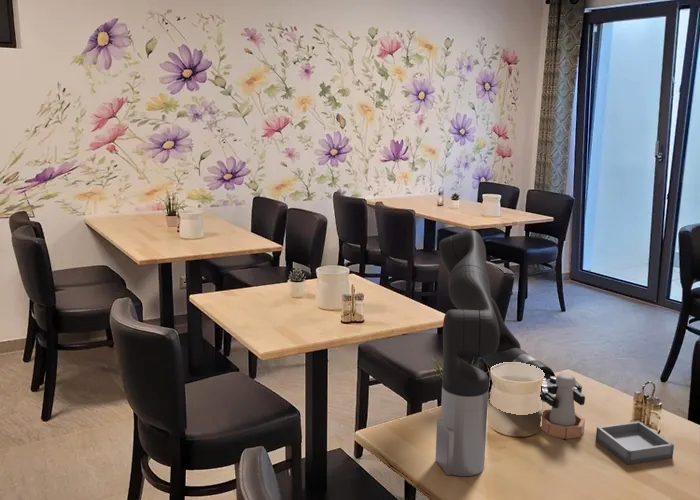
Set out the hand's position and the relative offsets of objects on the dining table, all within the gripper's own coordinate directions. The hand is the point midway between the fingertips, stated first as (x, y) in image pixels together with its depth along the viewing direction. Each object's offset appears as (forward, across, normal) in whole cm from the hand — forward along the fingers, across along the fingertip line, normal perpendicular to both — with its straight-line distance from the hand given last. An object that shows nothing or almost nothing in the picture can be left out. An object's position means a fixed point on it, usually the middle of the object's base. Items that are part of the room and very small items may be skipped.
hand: (570, 402), depth 152 cm
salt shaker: (-2, 0, +8) cm, 8 cm away
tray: (+10, +10, +8) cm, 16 cm away
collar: (-2, 0, +8) cm, 8 cm away
